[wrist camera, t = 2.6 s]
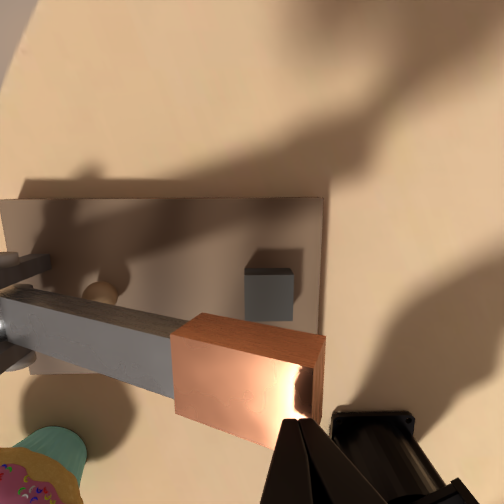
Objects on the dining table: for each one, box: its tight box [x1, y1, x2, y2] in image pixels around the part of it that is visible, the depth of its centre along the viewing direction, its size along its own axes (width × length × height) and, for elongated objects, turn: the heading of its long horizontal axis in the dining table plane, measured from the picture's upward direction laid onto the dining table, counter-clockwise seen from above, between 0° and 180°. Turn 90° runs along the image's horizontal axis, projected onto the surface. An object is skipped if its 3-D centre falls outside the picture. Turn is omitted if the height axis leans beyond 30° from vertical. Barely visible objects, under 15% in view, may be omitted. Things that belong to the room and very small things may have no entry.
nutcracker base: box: [0, 197, 324, 375], centre depth 17 cm, size 20×12×6 cm, turn 90°
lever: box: [0, 284, 326, 450], centre depth 13 cm, size 18×3×2 cm, turn 89°
